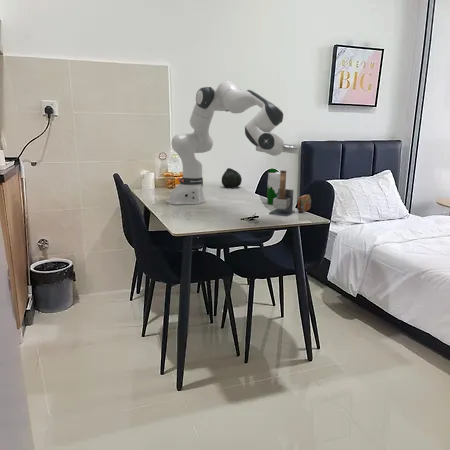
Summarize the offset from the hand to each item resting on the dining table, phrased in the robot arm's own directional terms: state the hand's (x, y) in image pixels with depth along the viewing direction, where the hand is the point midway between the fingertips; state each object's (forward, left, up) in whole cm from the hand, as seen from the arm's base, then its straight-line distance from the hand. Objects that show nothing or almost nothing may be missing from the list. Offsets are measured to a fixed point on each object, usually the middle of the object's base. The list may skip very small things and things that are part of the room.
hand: (280, 149), depth 199 cm
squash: (+23, +93, -33) cm, 101 cm away
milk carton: (+17, +27, -33) cm, 46 cm away
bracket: (+4, +2, -33) cm, 33 cm away
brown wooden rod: (+3, +1, -29) cm, 29 cm away
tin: (+19, +3, -33) cm, 38 cm away
